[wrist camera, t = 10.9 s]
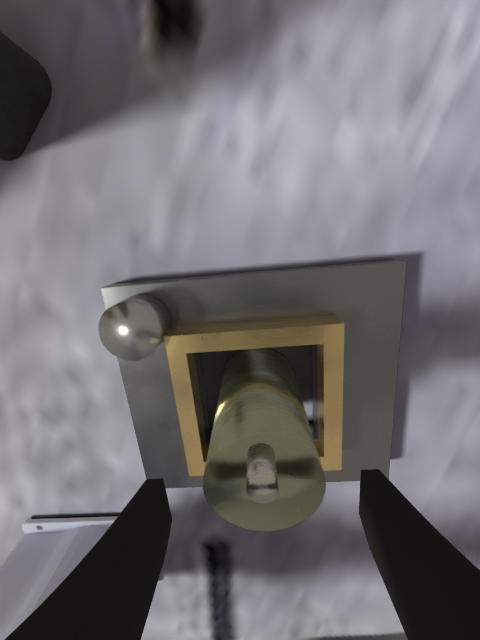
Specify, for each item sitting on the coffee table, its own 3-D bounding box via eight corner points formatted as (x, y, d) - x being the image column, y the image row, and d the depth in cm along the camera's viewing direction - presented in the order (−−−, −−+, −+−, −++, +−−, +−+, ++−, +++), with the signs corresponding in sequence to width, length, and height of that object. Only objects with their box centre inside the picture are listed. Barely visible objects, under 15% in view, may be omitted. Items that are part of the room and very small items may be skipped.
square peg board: (156, 471, 21) (137, 517, 17) (113, 283, 17) (79, 296, 13) (378, 461, 20) (404, 508, 16) (392, 259, 16) (430, 266, 12)
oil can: (226, 412, 19) (204, 576, 10) (219, 349, 18) (185, 473, 9) (295, 408, 19) (337, 573, 10) (292, 344, 17) (338, 467, 8)
